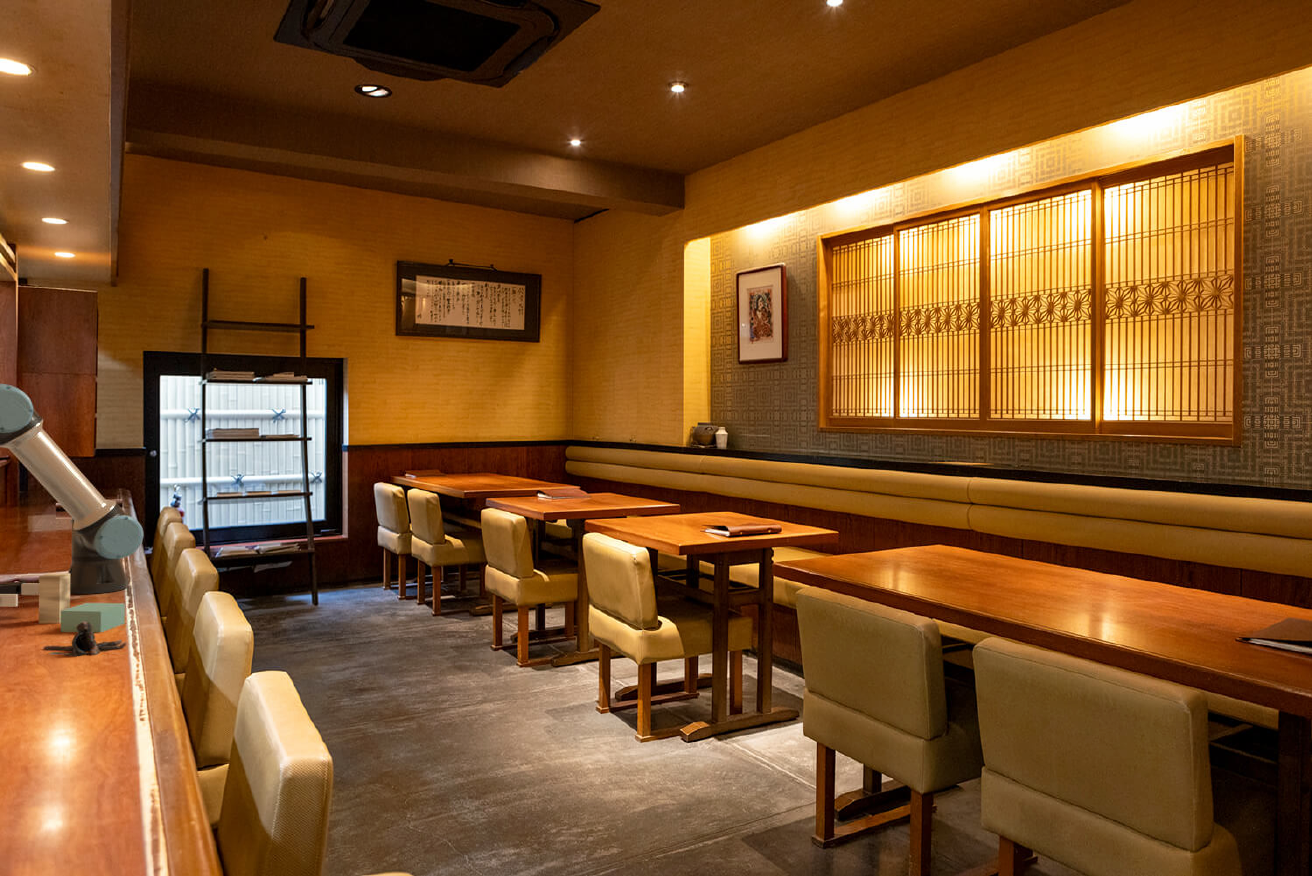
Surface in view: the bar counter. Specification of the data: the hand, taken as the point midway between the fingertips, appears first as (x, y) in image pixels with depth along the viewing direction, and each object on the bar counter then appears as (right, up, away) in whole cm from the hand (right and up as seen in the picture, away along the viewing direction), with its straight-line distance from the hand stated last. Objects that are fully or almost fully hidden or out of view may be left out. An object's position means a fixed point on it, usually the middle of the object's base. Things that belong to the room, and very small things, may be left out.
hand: (34, 594), depth 207 cm
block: (+4, -7, +1) cm, 8 cm away
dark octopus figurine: (+27, -8, -24) cm, 37 cm away
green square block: (+17, -7, -4) cm, 19 cm away
